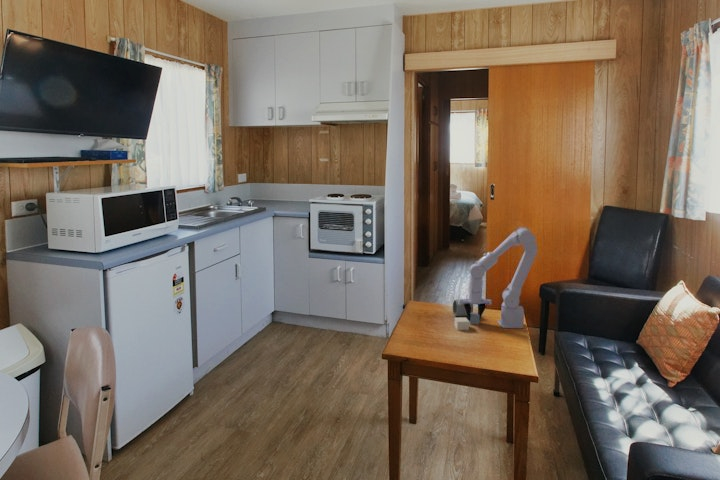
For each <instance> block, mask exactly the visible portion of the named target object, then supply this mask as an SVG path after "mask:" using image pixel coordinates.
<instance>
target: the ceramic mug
mask: <svg viewBox="0 0 720 480" xmlns="http://www.w3.org/2000/svg"><path fill="white" fill-rule="evenodd" d="M458 300H459V299H454V300H453V303H452V314H453V316H454V317H467V313H466V310H465V307H464V304H462V305H459V304H458ZM470 305H471V313H474V304H470Z"/></svg>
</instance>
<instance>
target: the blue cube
mask: <svg viewBox="0 0 720 480" xmlns="http://www.w3.org/2000/svg"><path fill="white" fill-rule="evenodd" d="M468 321H469V325H480V321H481V319H480V315H479V314H478V312H473V313H470V320H468Z"/></svg>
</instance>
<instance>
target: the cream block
mask: <svg viewBox="0 0 720 480" xmlns="http://www.w3.org/2000/svg"><path fill="white" fill-rule="evenodd" d="M469 326H470V323H469V321H468V319H467V316H459V317H454V324H453V327H455V329H456V331H468V330H470V328H469Z"/></svg>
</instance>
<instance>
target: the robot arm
mask: <svg viewBox="0 0 720 480" xmlns="http://www.w3.org/2000/svg"><path fill="white" fill-rule="evenodd" d="M536 239H537V238H536V236H535V235H534V234H533V232H532V231H530V229H529V228H527V227H525V226H519V227H518V228H517V229H516V230H514V231H513V232H512V233H511V234H509V236H507V238H505V240H503V241H502V242H501V243H500V244H499V245H498V246H497V247H496V248H495V249H494V250H493V251H487V252H484V253H483V256H481V257H480V258H479V259H478V260H476V261H475V262H474V263H473V264H472V265H470V268H469V270H468V271H469V273H470V275H469V283H468V284H469V286H468V297H467V298H461V299H457V300H458V304H459V305H462V304H464V307H465V310H466V313H467V316H466V318H467V319H468V320H470V313H471V305H470V304H473V305H477V313H478V314H479V315H480V320H482V319H481V318H482V316H483V314H484V311H485V310H486V309H487V305H489V306H491V305H492V301H493V300H492V299H487V298H482V297H483V282H484V281H483V277H484V276H485V272H488V271H489V269H491V268H492V267H493V266H494V265H495V264H497V263H498V258H499V257H500V256H502V255H503V254H504V253H505V252H507V251H508V250H509V249H510V248H511V247H517V246H520V244H521V246H522V247H523V250H524V252H523V254H522V256H521V258H520V261H519V263H518V266H517V268H516V270H515V272H514V275H513V277H512V279H511V282H510V283H509V284H508V285H507V287H506V288H505V289H504V290H503V291H502V293H501V294H502V295H501V297H502V300H503V302H502V303H501V307H500V308H501V310H500V319H499V320H497V321H496V322H497V323H498V324H499V326H500V327H501V328H502V329H523V328H525V327H524V319H525V318H524V317H525V310H524V307H523V306H522V305H520V296H521V294H522V288H523V286H524V284H525V281H526V279H527V277H528V274H529V273H530V270H531V267H532V265H533V263H534V261H535V259H536V257H537V254H538V246H537V245H538V244H537V240H536Z"/></svg>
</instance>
